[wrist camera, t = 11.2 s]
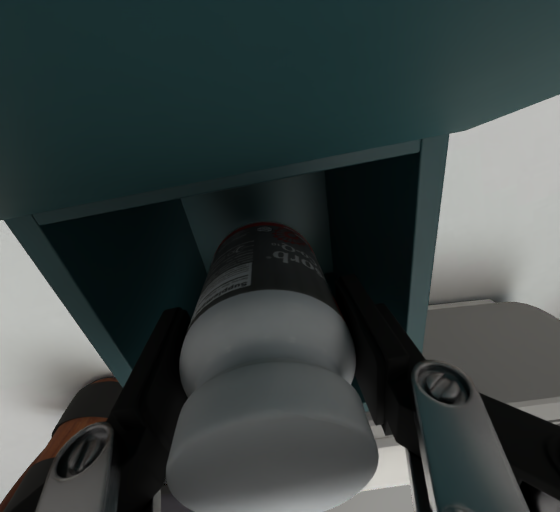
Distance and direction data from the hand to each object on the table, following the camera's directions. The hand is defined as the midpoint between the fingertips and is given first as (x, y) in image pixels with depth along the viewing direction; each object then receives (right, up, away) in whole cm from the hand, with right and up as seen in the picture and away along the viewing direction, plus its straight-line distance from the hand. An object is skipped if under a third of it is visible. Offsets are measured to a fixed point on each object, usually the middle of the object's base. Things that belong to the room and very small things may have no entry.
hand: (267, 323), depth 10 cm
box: (-1, +5, +11) cm, 12 cm away
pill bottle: (0, +2, +5) cm, 5 cm away
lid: (-1, +3, -10) cm, 11 cm away
